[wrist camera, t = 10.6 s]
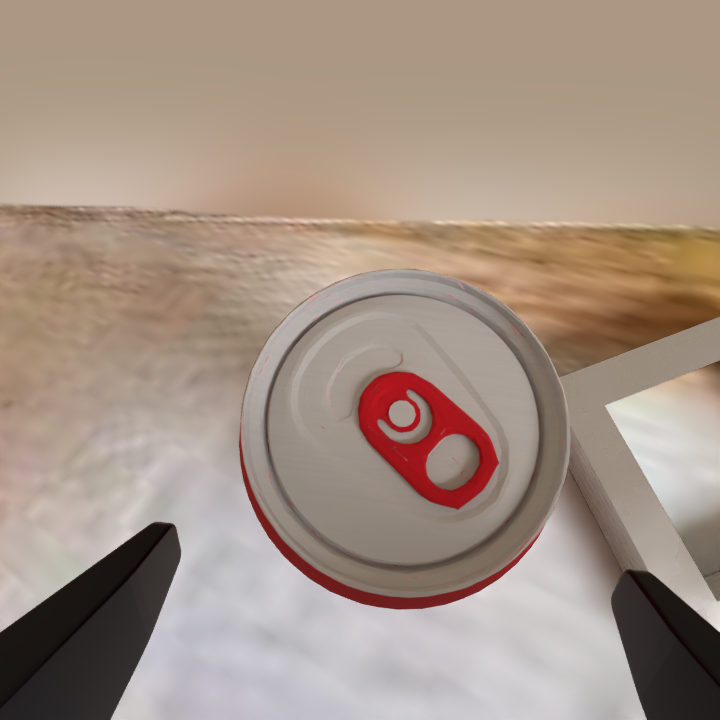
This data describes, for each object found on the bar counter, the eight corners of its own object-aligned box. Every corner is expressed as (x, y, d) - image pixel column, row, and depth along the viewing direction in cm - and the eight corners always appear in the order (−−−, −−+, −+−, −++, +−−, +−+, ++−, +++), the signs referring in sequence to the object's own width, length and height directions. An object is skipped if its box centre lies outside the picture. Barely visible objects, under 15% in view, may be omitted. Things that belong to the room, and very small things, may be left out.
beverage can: (384, 368, 19) (395, 182, 8) (488, 463, 18) (694, 405, 6) (286, 465, 18) (128, 414, 7) (388, 577, 16) (415, 767, 5)
